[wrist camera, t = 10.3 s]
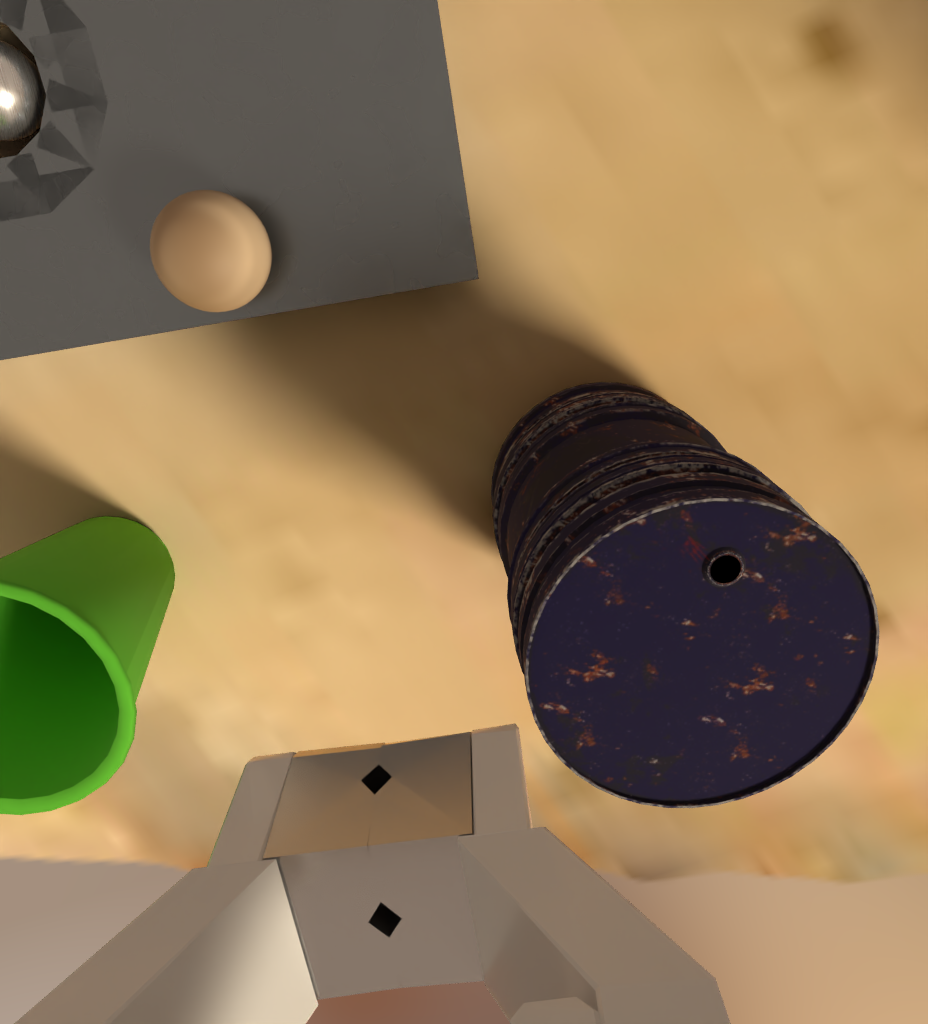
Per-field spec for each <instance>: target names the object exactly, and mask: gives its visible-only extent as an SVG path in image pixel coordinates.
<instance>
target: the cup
mask: <svg viewBox="0 0 928 1024" xmlns="http://www.w3.org/2000/svg"><path fill="white" fill-rule="evenodd" d="M174 581H175V572H174V566H173V562H172V559H171V557H170V554H169V552H168V550H167V548H166V546H165V545H164V544H163V542H162V541H161V539H160V538H159V537H158V536H157V535H156V534H154V533H153V532H152V531H151V530H150V529H149V528H147V527H145V526H143V525H141V524H139V523H138V522H135V521H132V520H129V519H125V518H120V517H110V516H102V517H95V518H90V519H87V520H85V521H83V522H80V523H78V524H75V525H73V526H71V527H69V528H67V529H64V530H62V531H60V532H58V533H56V534H53V535H51V536H49V537H47V538H44V539H42V540H40V541H38V542H36V543H33V544H31V545H29V546H27V547H25V548H22V549H20V550H18V551H16V552H14V553H11V554H9V555H7V556H5V557H2V558H0V814H14V815H24V814H31V813H39V812H46V811H52V810H55V809H57V808H60V807H63V806H66V805H68V804H71V803H74V802H77V801H79V800H81V799H83V798H85V797H86V796H88V795H89V794H91V793H92V792H94V791H95V790H97V789H98V788H100V787H101V786H103V785H104V784H106V783H107V782H108V780H109V779H110V778H111V777H112V776H113V774H114V773H115V772H116V771H117V770H118V769H119V767H120V766H121V765H122V764H123V763H124V760H125V758H126V756H127V754H128V751H129V749H130V747H131V744H132V742H133V740H134V734H135V724H136V714H137V710H136V704H135V702H136V699H137V696H138V693H139V690H140V687H141V684H142V682H143V679H144V676H145V673H146V670H147V667H148V664H149V661H150V658H151V655H152V652H153V649H154V646H155V643H156V640H157V637H158V634H159V631H160V628H161V625H162V622H163V619H164V616H165V613H166V610H167V607H168V604H169V601H170V598H171V595H172V592H173V589H174Z"/></svg>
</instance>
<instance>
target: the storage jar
mask: <svg viewBox="0 0 928 1024" xmlns="http://www.w3.org/2000/svg"><path fill="white" fill-rule="evenodd" d="M491 496H492V505H493V523H494V532H495V538H496V543H497V546H498V549H499V553H500V556H501V559H502V561H503V564H504V567H505V571H506V574H507V577H508V593H507V599H508V607H509V616H510V620H511V624H512V630H513V637H514V643H515V648H516V652H517V656H518V659H519V662H520V666H521V669H522V672H523V674H524V677H525V685H526V690H527V696H528V700H529V703H530V707H531V710H532V713H533V717H534V720H535V722H536V724H537V726H538V728H539V730H540V732H541V734H542V736H543V738H544V739H545V741H546V743H547V744H548V745H549V746H550V748H551V749H552V750H553V752H554V753H555V754H556V755H557V757H558V758H559V759H560V760H561V761H562V762H563V763H564V764H565V765H566V766H567V767H568V768H570V769H571V770H572V771H573V772H574V773H575V774H576V775H577V776H579V777H581V778H582V779H584V780H585V781H587V782H588V783H590V784H591V785H593V786H594V787H596V788H598V789H600V790H602V791H605V792H607V793H609V794H611V795H614V796H616V797H618V798H621V799H625V800H628V801H632V802H636V803H639V804H643V805H650V806H658V807H665V808H696V807H704V806H712V805H719V804H723V803H727V802H731V801H735V800H739V799H743V798H746V797H749V796H751V795H754V794H757V793H759V792H762V791H764V790H767V789H769V788H771V787H773V786H775V785H777V784H779V783H780V782H782V781H784V780H786V779H788V778H790V777H792V776H793V775H795V774H796V773H797V772H799V771H800V770H802V769H803V768H804V767H806V766H807V765H809V764H810V763H812V762H813V761H814V760H815V759H816V758H817V757H818V756H820V755H821V754H822V753H823V752H824V751H825V750H826V749H827V748H828V747H829V746H830V745H832V744H833V742H834V741H835V740H836V739H837V738H838V736H839V735H840V734H841V733H842V732H843V730H844V729H845V728H846V727H847V726H848V724H849V723H850V721H851V720H852V718H853V716H854V715H855V713H856V712H857V710H858V708H859V707H860V705H861V703H862V701H863V699H864V697H865V694H866V692H867V690H868V687H869V685H870V683H871V680H872V677H873V673H874V669H875V665H876V661H877V656H878V644H879V624H878V615H877V607H876V604H875V600H874V597H873V594H872V591H871V588H870V585H869V582H868V581H867V579H866V577H865V575H864V573H863V571H862V570H861V568H860V566H859V564H858V562H857V561H856V560H855V559H854V557H853V556H852V555H851V554H850V553H849V551H848V550H847V549H846V548H845V547H844V545H843V544H842V543H841V542H840V541H839V540H837V539H836V538H835V537H834V536H832V535H831V534H830V533H829V532H828V531H826V530H825V529H824V528H823V527H822V526H820V525H819V524H818V523H817V522H815V521H814V520H813V519H812V518H811V517H810V516H809V514H808V513H807V512H806V511H805V509H804V508H803V507H802V506H801V505H800V504H799V503H798V502H797V501H795V500H794V499H793V498H792V497H791V496H789V495H788V494H787V493H786V492H785V491H783V490H782V489H781V488H779V487H778V486H777V485H776V484H775V483H773V482H772V481H771V480H770V479H769V478H768V477H766V476H765V475H764V474H763V473H762V472H760V471H759V470H758V469H757V468H756V467H754V466H752V465H751V464H749V463H747V462H745V461H744V460H742V459H740V458H738V457H737V456H735V455H732V454H729V453H727V451H726V450H725V449H724V448H723V446H722V445H721V444H720V443H719V442H718V440H717V439H716V438H715V437H714V435H713V434H711V433H710V432H709V431H708V430H707V429H706V428H704V427H703V426H702V425H701V424H700V423H698V422H697V421H695V420H694V419H693V418H692V417H690V416H689V415H688V414H686V413H685V412H684V411H682V410H680V409H679V408H677V407H675V406H673V405H672V404H670V403H668V402H667V401H666V400H664V399H662V398H660V397H659V396H657V395H655V394H653V393H652V392H650V391H647V390H644V389H641V388H639V387H636V386H632V385H627V384H621V383H608V382H598V383H591V384H583V385H579V386H576V387H572V388H569V389H565V390H563V391H561V392H559V393H557V394H554V395H552V396H550V397H548V398H547V399H545V400H544V401H542V402H541V403H539V404H538V405H536V406H535V407H533V408H532V409H531V410H530V411H529V412H528V413H527V414H526V415H525V416H524V417H522V418H521V419H520V421H519V422H518V423H517V424H516V426H515V427H514V428H513V429H512V430H511V432H510V433H509V435H508V437H507V438H506V440H505V442H504V444H503V445H502V447H501V450H500V452H499V455H498V457H497V460H496V462H495V467H494V472H493V476H492V490H491Z"/></svg>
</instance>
